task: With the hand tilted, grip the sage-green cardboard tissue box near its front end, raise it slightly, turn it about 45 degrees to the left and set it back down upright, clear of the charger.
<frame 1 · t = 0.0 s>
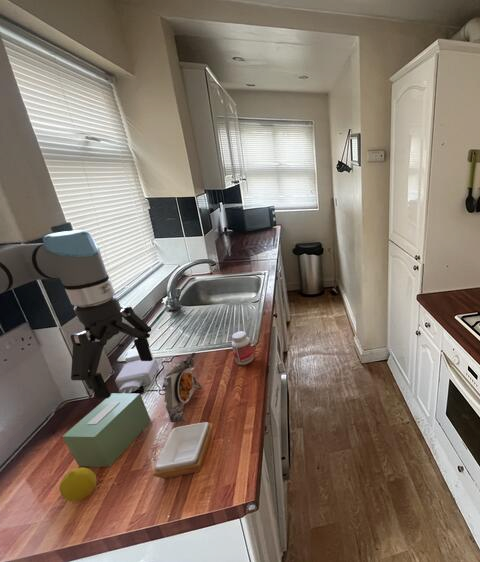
hand: (127, 377, 76), 19 cm above the worktop, tool pointing down, fingers open, 13 cm apart
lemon: (86, 497, 68), on the worktop
soap dish: (189, 457, 76), on the worktop
white cube: (142, 365, 112), on the worktop
pill bottle: (245, 360, 113), on the worktop
meal: (189, 403, 94), on the worktop
tissue box: (117, 441, 81), on the worktop
charger: (137, 384, 102), on the worktop
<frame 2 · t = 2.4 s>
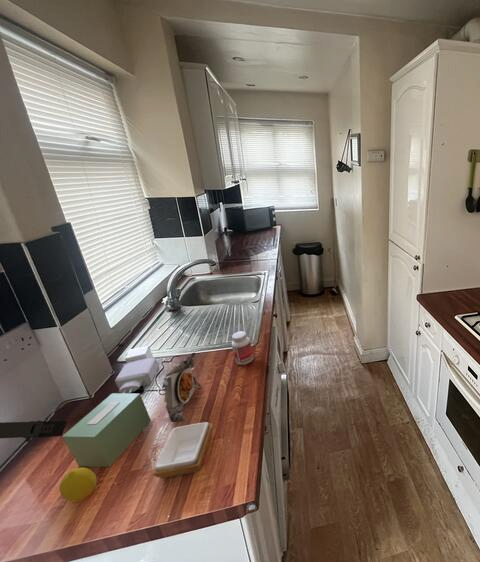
hand: (28, 430, 61), 19 cm above the worktop, tool tilted 45°, fingers open, 13 cm apart
nothing on the worktop moved.
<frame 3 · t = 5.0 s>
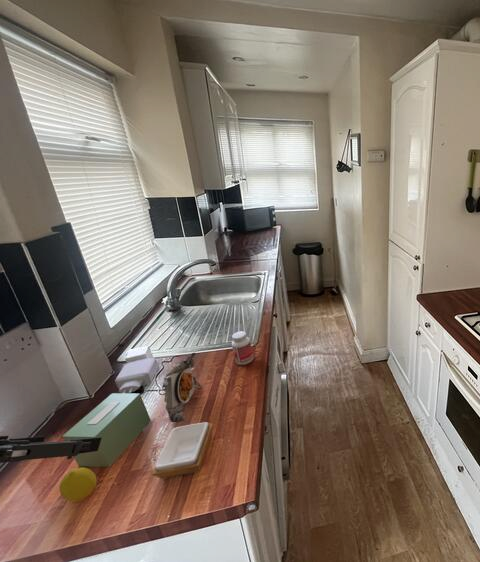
hand: (69, 443, 69), 10 cm above the worktop, tool tilted 45°, fingers open, 13 cm apart
nothing on the worktop moved.
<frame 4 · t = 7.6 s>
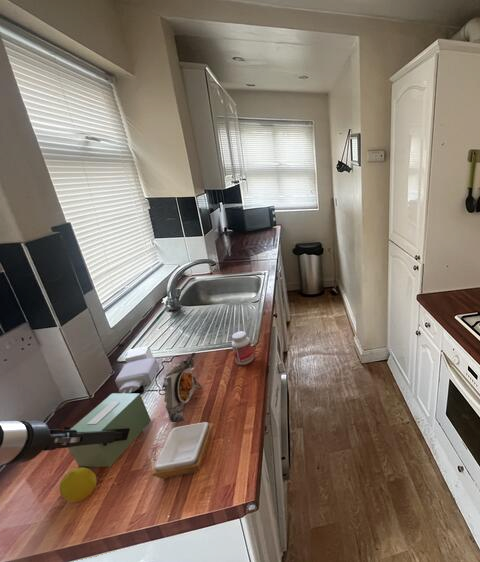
hand: (110, 433, 79), 4 cm above the worktop, tool tilted 45°, fingers closed on tissue box, 8 cm apart
tissue box: (117, 441, 81), on the worktop, touching gripper
everything else where it was.
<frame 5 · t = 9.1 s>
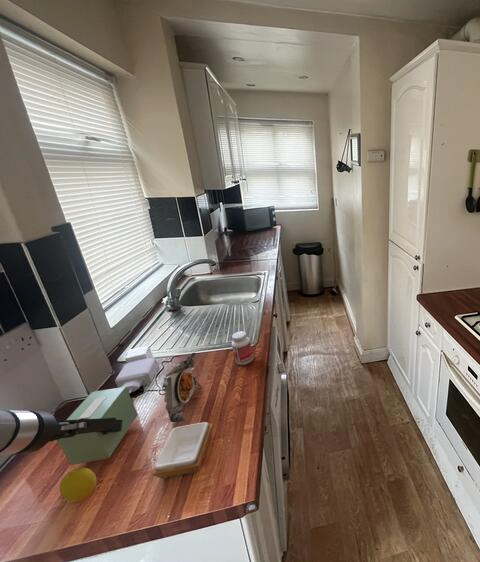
hand: (100, 429, 78), 6 cm above the worktop, tool tilted 45°, fingers closed on tissue box, 8 cm apart
tissue box: (107, 437, 80), point 2 cm above the worktop, touching gripper
everything else where it was.
when the fingers open (4 cm above the worktop, at t = 11.0 s): tissue box stays where it is, on the worktop.
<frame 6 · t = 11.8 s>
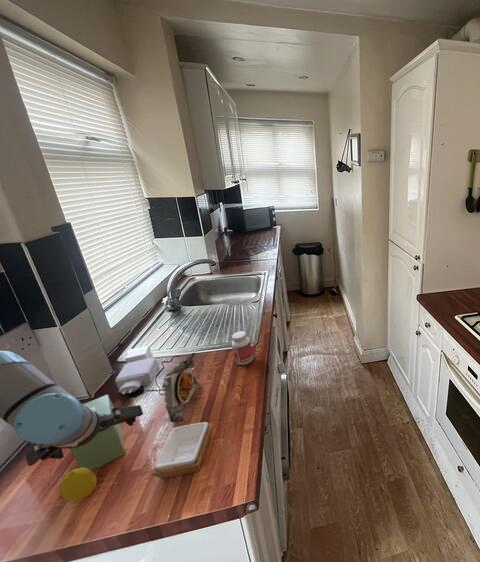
hand: (97, 435, 77), 5 cm above the worktop, tool tilted 45°, fingers open, 13 cm apart
tissue box: (104, 445, 80), on the worktop
everything else where it was.
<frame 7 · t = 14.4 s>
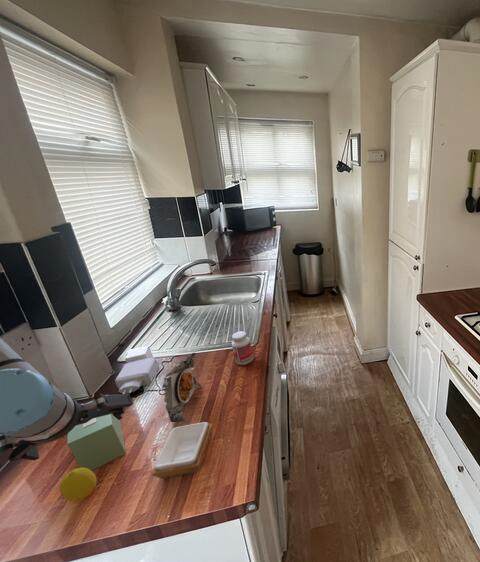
hand: (79, 432, 66), 15 cm above the worktop, tool tilted 45°, fingers open, 13 cm apart
nothing on the worktop moved.
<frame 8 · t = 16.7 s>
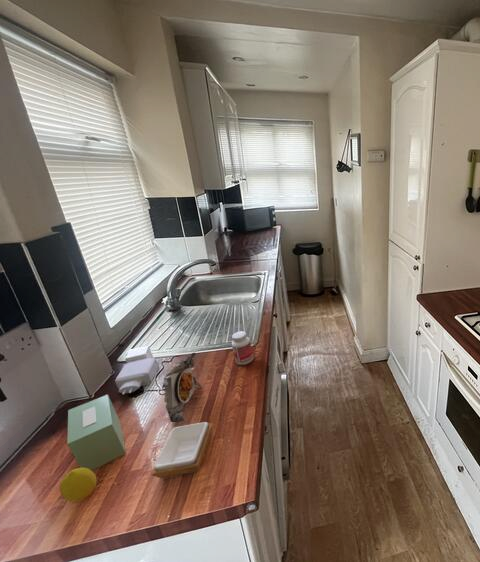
nothing on the worktop moved.
at the end: tissue box 0.2 cm from the target spot, on the worktop; tissue box tilted 0°; tissue box touching worktop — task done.
